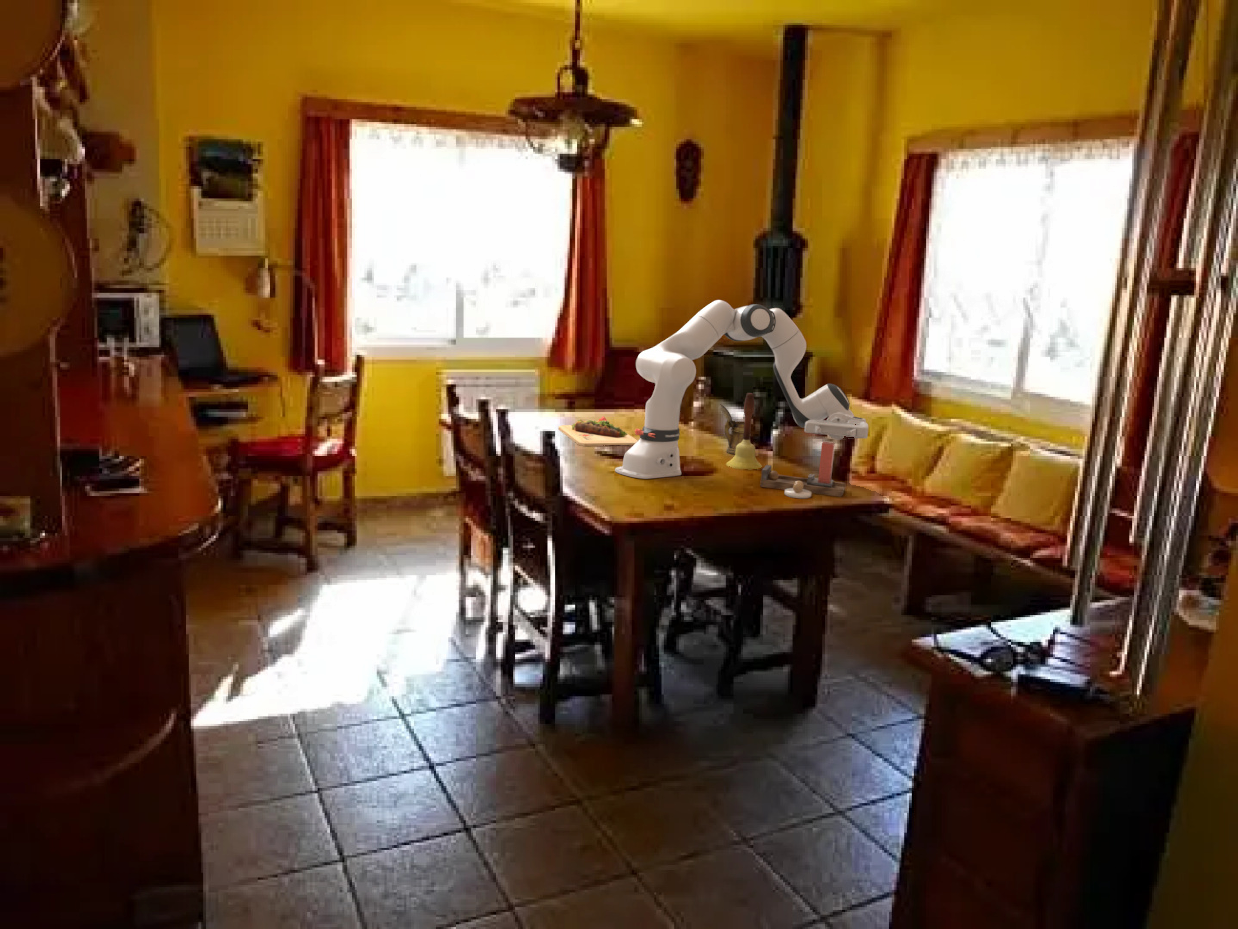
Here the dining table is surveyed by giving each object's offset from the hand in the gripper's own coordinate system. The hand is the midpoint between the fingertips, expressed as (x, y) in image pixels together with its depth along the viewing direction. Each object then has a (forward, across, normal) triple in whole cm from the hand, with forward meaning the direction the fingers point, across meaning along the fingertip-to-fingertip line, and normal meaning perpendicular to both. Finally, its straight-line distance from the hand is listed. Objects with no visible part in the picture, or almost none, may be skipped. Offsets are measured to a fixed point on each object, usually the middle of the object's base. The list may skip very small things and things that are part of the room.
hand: (834, 432), depth 308 cm
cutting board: (-31, -91, +17) cm, 97 cm away
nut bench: (+12, -7, +16) cm, 22 cm away
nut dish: (+23, -7, +16) cm, 29 cm away
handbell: (-10, -30, +16) cm, 36 cm away
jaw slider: (+12, -2, +15) cm, 19 cm away
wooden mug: (-30, -38, +16) cm, 51 cm away
